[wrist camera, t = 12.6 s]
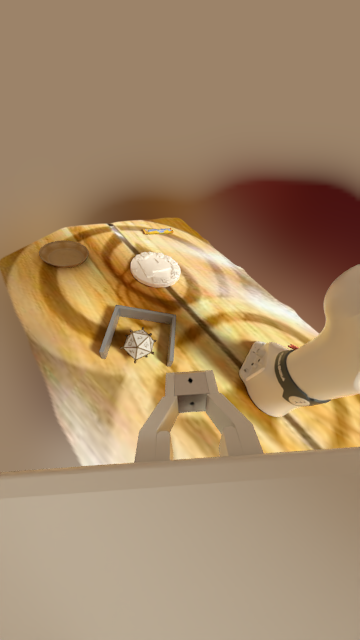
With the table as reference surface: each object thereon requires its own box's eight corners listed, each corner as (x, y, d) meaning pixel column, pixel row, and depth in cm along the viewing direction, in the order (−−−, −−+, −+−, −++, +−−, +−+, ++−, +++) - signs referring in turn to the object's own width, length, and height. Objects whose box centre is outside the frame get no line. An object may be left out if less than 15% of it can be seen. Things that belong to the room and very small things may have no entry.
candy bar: (170, 230, 90) (171, 226, 88) (174, 234, 88) (174, 231, 86) (141, 231, 82) (141, 227, 81) (144, 236, 80) (144, 232, 79)
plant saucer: (74, 242, 65) (72, 236, 63) (98, 262, 62) (97, 256, 60) (33, 254, 57) (29, 248, 55) (58, 277, 54) (55, 271, 52)
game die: (139, 362, 47) (135, 374, 37) (118, 341, 46) (108, 348, 36) (162, 341, 48) (163, 347, 38) (142, 319, 47) (138, 321, 37)
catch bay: (170, 366, 45) (173, 361, 42) (101, 358, 42) (99, 351, 39) (173, 322, 54) (176, 315, 50) (117, 312, 51) (116, 304, 48)
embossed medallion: (130, 254, 70) (130, 248, 67) (175, 259, 75) (176, 253, 73) (130, 288, 58) (130, 281, 56) (183, 290, 64) (184, 284, 62)
